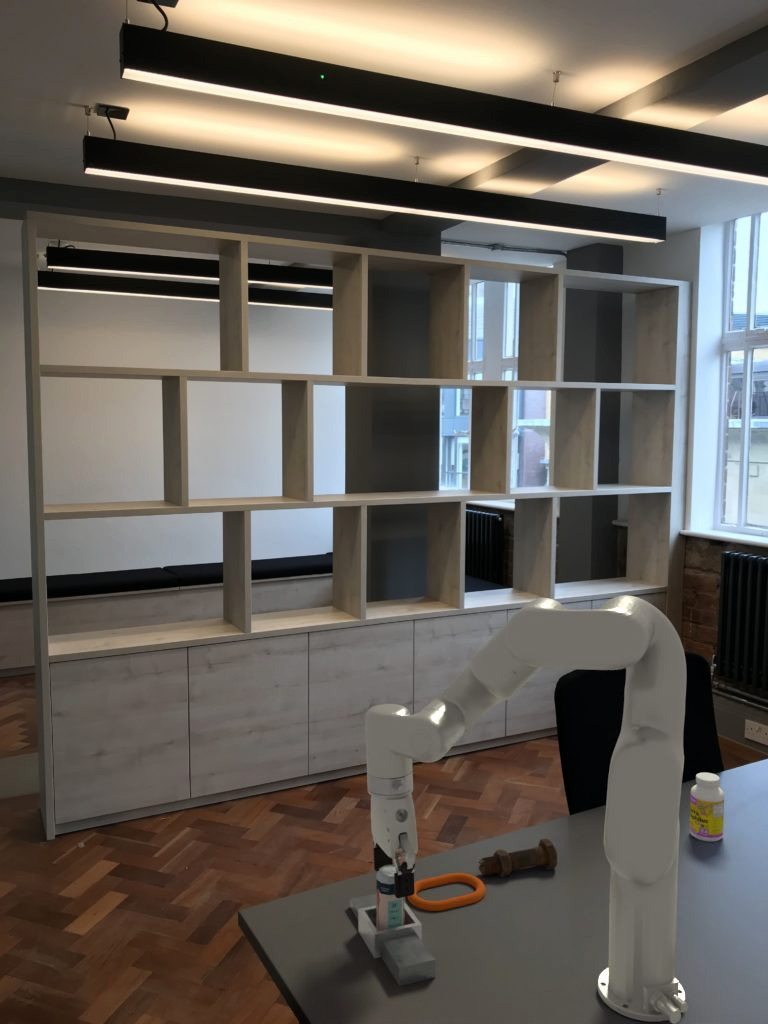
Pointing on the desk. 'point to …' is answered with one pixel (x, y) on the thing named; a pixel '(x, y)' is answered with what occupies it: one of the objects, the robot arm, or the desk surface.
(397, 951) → the bar with square collar
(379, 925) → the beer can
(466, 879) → the metal ring
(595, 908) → the desk surface
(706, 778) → the supplement bottle
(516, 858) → the bolt
